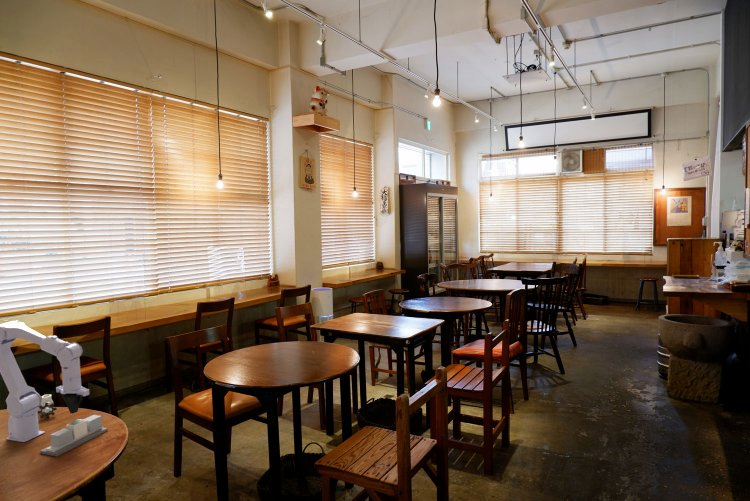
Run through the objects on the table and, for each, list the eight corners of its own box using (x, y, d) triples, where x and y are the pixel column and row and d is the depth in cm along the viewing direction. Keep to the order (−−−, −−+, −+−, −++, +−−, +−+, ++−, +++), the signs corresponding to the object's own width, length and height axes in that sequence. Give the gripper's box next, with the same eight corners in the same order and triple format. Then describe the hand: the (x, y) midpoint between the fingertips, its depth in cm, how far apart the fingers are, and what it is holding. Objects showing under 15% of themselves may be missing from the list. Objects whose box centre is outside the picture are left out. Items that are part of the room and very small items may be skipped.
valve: (38, 411, 199) (37, 420, 189) (37, 396, 198) (36, 405, 188) (56, 407, 202) (57, 416, 193) (55, 392, 202) (56, 401, 192)
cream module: (66, 438, 168) (65, 424, 168) (79, 431, 173) (78, 418, 173) (74, 439, 167) (73, 425, 167) (87, 433, 172) (86, 419, 171)
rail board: (40, 453, 161) (39, 437, 161) (91, 428, 180) (90, 413, 180) (57, 456, 159) (55, 440, 158) (107, 430, 178) (106, 415, 177)
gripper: (47, 378, 171) (49, 414, 172) (75, 382, 166) (78, 419, 167) (65, 372, 178) (67, 406, 179) (93, 376, 173) (95, 411, 174)
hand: (74, 412), depth 173 cm, fingers closed
